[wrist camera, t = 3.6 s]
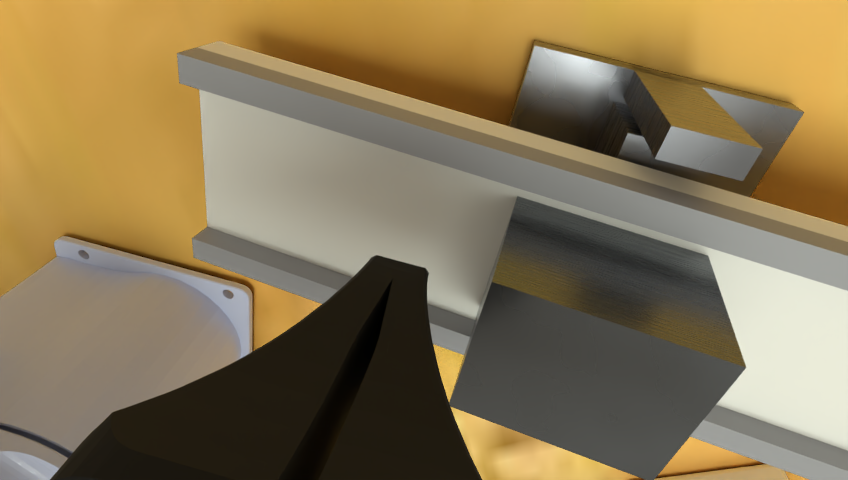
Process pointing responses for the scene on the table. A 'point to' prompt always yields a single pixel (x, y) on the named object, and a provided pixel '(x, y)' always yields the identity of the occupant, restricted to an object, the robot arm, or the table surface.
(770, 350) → the beam
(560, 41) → the table surface
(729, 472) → the medicine bottle
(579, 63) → the pivot stand
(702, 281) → the block
